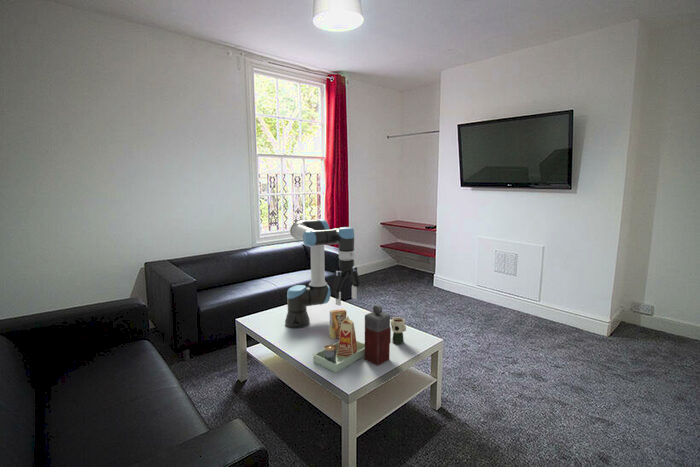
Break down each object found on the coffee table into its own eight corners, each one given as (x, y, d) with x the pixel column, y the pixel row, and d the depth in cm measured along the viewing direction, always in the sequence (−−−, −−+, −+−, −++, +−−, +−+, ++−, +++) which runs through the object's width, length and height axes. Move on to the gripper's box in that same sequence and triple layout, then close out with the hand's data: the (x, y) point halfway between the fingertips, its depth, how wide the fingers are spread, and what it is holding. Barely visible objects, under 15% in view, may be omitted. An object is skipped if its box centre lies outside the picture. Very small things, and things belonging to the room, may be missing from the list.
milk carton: (354, 359, 170) (354, 320, 168) (336, 357, 172) (335, 319, 170) (357, 350, 179) (357, 313, 176) (340, 348, 181) (340, 312, 178)
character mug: (386, 340, 192) (386, 318, 190) (395, 336, 196) (395, 315, 194) (400, 347, 183) (401, 324, 181) (409, 343, 188) (410, 321, 186)
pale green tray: (313, 362, 169) (313, 354, 168) (347, 344, 187) (347, 337, 187) (336, 373, 159) (336, 364, 158) (369, 352, 178) (369, 345, 177)
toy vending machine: (392, 357, 173) (393, 304, 169) (377, 365, 165) (378, 310, 161) (379, 351, 179) (379, 299, 175) (364, 359, 171) (364, 305, 167)
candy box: (343, 333, 201) (343, 308, 199) (346, 336, 197) (346, 310, 195) (329, 336, 197) (329, 310, 195) (332, 339, 193) (332, 313, 191)
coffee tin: (322, 363, 166) (322, 347, 165) (330, 358, 171) (330, 343, 169) (330, 367, 163) (330, 351, 162) (338, 362, 167) (338, 346, 166)
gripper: (335, 264, 157) (335, 310, 161) (367, 256, 175) (366, 297, 178) (323, 261, 162) (324, 306, 165) (356, 254, 180) (355, 294, 183)
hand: (346, 301), depth 172 cm, fingers open, 11 cm apart
